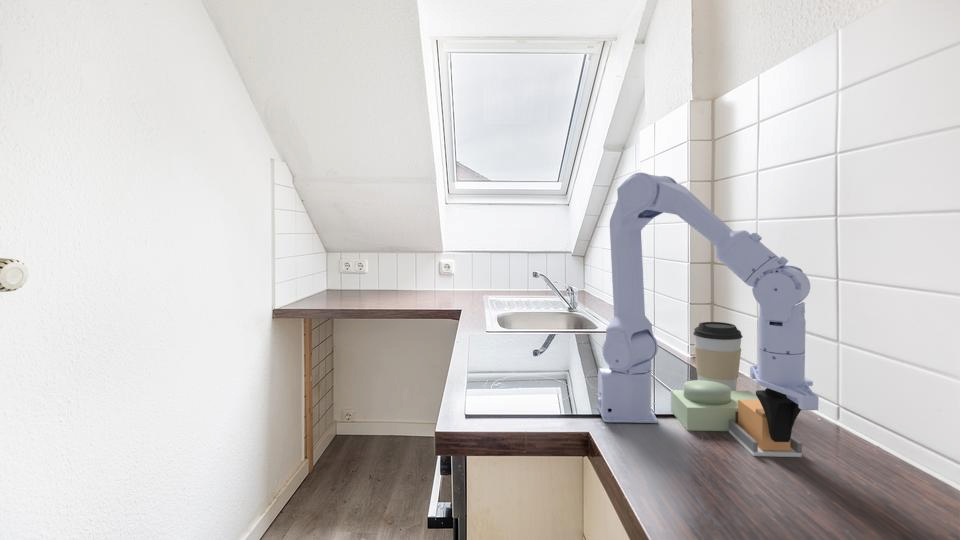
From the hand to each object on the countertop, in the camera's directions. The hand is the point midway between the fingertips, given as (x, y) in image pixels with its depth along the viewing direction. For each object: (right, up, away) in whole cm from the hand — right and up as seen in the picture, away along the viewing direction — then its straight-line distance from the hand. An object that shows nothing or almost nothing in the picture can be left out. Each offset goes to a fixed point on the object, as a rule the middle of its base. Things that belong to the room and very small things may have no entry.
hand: (779, 440), depth 68 cm
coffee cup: (+5, -1, +28) cm, 28 cm away
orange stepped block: (+1, -2, +5) cm, 5 cm away
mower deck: (-2, -2, +10) cm, 10 cm away
